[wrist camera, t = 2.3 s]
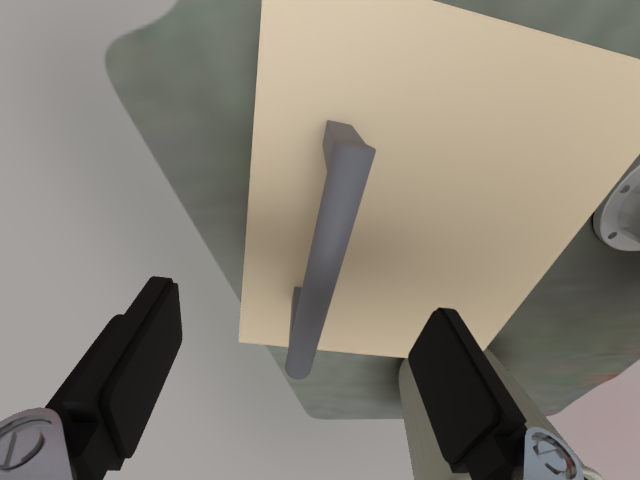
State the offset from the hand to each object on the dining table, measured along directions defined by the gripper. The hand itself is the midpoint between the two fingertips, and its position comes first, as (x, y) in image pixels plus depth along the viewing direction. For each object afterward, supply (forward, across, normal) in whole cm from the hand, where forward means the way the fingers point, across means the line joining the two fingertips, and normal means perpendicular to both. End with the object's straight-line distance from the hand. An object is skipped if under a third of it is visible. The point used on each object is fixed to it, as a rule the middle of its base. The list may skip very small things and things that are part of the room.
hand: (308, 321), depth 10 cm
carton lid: (+8, -7, 0) cm, 10 cm away
